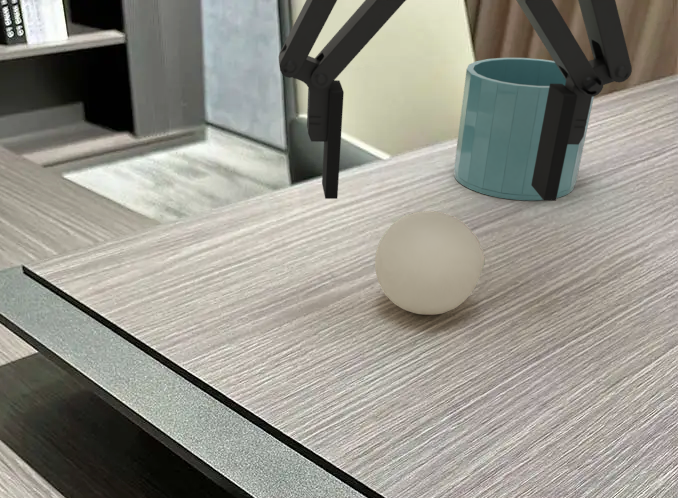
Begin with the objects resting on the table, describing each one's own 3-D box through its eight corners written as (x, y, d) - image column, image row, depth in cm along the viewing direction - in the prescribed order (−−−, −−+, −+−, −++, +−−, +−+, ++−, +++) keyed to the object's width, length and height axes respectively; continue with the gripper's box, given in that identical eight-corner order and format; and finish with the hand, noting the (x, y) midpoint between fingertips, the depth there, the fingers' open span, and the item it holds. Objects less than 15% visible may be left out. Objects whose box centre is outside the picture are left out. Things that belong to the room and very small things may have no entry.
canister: (552, 159, 83) (572, 58, 78) (592, 200, 73) (617, 88, 68) (443, 159, 82) (455, 57, 77) (468, 200, 73) (484, 87, 68)
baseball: (500, 314, 55) (515, 222, 52) (416, 342, 52) (427, 246, 48) (433, 274, 60) (444, 188, 56) (353, 298, 56) (359, 208, 53)
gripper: (235, -224, 37) (238, 213, 48) (771, -208, 38) (656, 216, 49) (238, -213, 44) (239, 169, 54) (696, -200, 44) (609, 173, 55)
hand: (436, 192), depth 51 cm, fingers open, 13 cm apart
